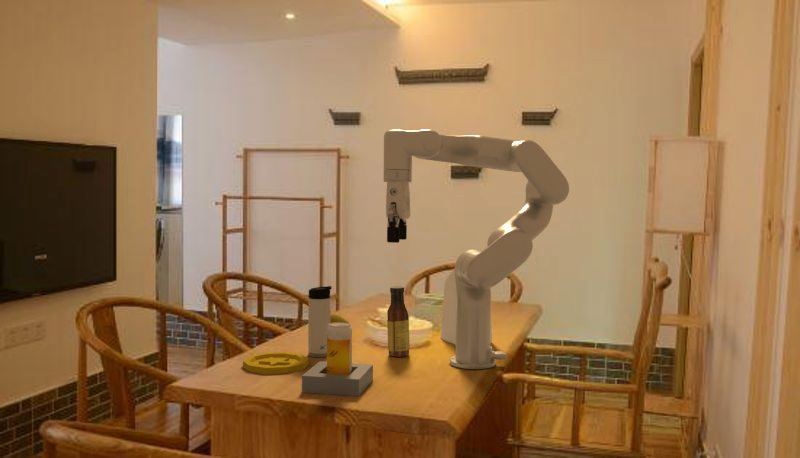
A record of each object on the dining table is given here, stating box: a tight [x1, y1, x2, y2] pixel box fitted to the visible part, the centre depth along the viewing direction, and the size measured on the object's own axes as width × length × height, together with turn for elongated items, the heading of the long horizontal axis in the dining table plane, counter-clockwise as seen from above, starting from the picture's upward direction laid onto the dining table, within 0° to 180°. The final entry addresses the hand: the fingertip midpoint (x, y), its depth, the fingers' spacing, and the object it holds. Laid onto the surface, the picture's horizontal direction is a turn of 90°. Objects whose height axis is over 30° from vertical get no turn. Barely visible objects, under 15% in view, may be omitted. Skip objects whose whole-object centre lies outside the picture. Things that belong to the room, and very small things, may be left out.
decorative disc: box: [242, 351, 310, 375], centre depth 198 cm, size 17×18×2 cm
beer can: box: [326, 322, 353, 375], centre depth 179 cm, size 6×6×15 cm
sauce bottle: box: [386, 285, 411, 358], centre depth 210 cm, size 6×6×20 cm
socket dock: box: [301, 360, 374, 397], centre depth 179 cm, size 14×14×4 cm
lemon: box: [330, 313, 350, 323], centre depth 230 cm, size 11×8×8 cm
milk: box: [440, 268, 493, 346], centre depth 230 cm, size 12×12×26 cm
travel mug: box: [307, 285, 333, 358], centre depth 210 cm, size 6×7×20 cm
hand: (397, 240), depth 195 cm, fingers open, 9 cm apart
